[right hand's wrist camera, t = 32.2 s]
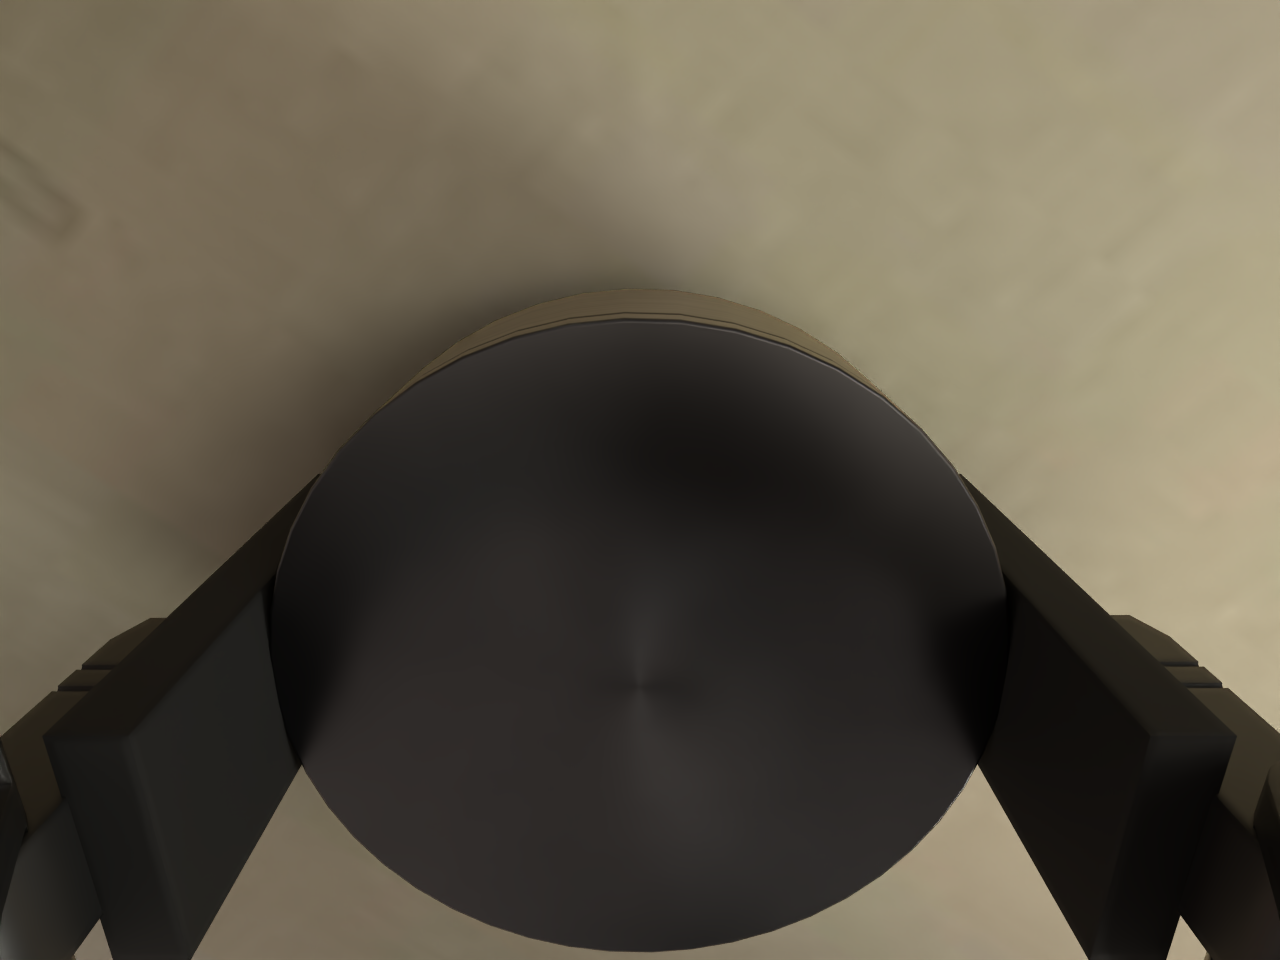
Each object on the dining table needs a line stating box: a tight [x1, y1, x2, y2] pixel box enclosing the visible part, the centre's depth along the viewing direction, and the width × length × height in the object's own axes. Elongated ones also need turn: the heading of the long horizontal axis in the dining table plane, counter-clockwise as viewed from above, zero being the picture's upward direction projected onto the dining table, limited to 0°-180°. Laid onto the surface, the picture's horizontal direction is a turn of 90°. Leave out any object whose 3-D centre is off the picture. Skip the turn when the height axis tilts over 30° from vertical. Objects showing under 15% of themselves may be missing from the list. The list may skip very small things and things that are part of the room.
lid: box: [270, 289, 1010, 952], centre depth 11 cm, size 9×9×2 cm
